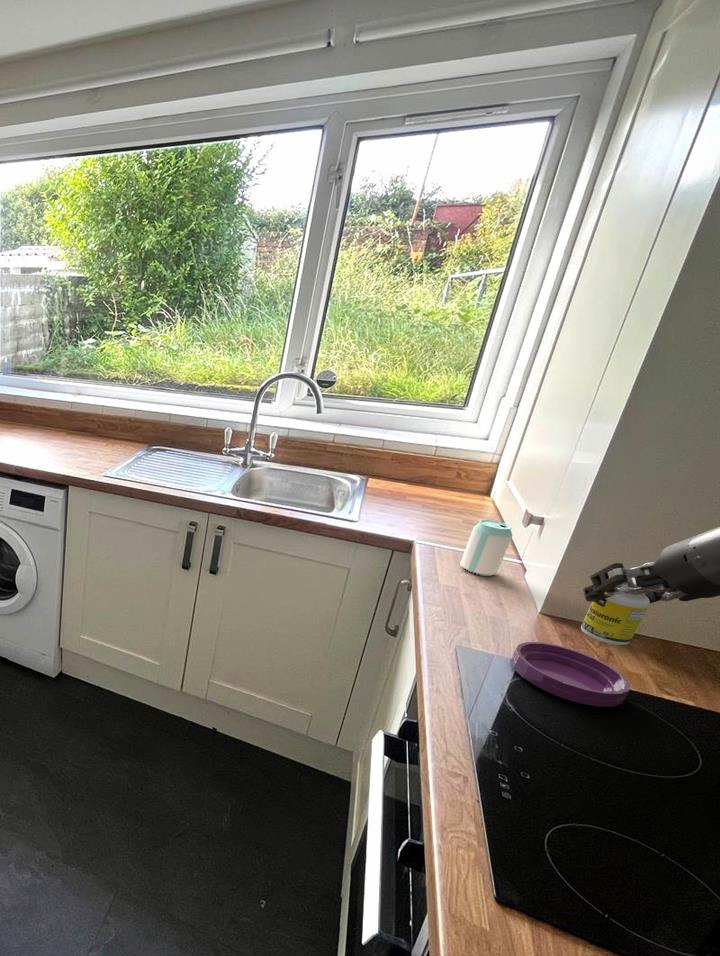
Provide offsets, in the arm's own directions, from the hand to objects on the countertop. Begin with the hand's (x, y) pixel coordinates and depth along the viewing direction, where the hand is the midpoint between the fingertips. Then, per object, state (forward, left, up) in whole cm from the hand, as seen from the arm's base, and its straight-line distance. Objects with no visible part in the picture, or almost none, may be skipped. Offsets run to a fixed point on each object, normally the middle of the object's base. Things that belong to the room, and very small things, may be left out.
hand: (610, 597), depth 87 cm
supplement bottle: (-2, +1, -6) cm, 6 cm away
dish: (+2, -6, -19) cm, 20 cm away
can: (+35, -38, -19) cm, 55 cm away
